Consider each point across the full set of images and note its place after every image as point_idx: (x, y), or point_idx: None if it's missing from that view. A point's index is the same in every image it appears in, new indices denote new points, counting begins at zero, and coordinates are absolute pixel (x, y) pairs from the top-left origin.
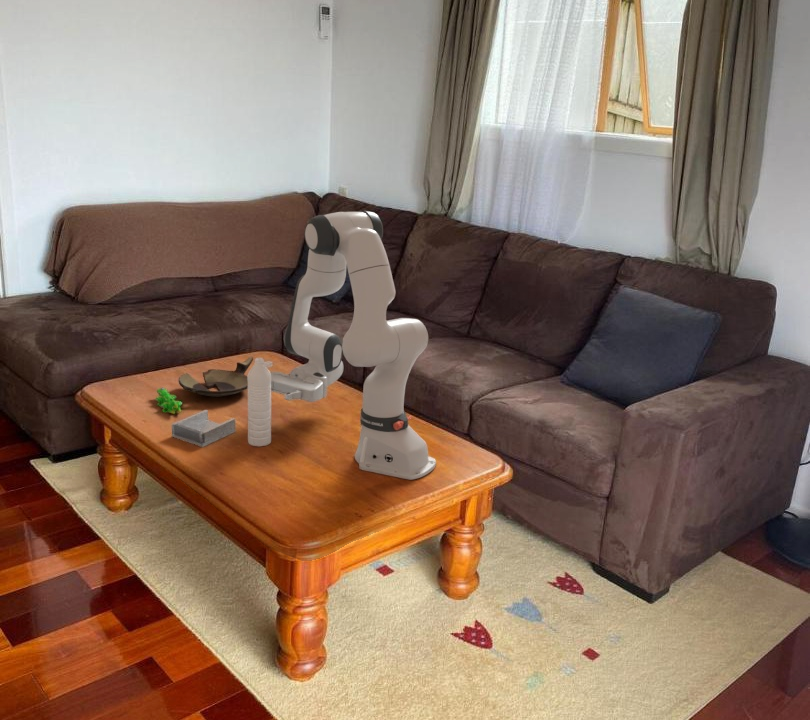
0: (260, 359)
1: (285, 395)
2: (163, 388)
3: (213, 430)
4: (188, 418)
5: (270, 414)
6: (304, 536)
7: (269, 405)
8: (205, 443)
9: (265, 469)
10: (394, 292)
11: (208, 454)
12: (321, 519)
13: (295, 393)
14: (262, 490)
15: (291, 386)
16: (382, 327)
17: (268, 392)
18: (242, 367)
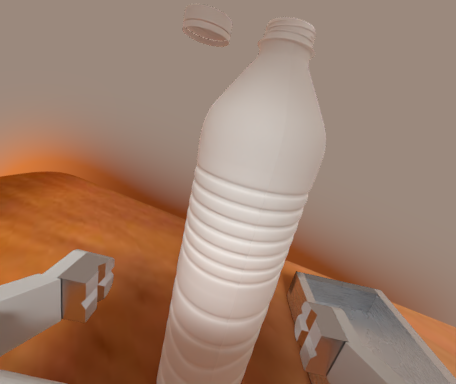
0: (300, 36)
1: (106, 257)
2: None
3: (304, 301)
4: (406, 328)
5: (172, 300)
6: (45, 174)
7: (179, 255)
8: (290, 298)
9: (124, 258)
10: None
11: None
12: (14, 186)
13: (5, 288)
14: (112, 217)
15: (47, 379)
16: None
17: (191, 194)
18: None
